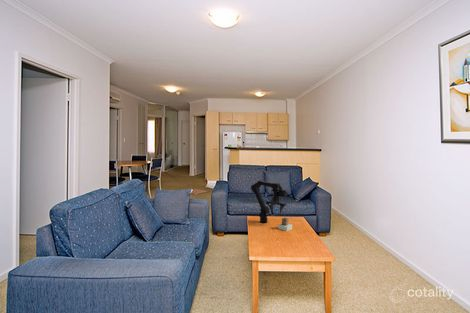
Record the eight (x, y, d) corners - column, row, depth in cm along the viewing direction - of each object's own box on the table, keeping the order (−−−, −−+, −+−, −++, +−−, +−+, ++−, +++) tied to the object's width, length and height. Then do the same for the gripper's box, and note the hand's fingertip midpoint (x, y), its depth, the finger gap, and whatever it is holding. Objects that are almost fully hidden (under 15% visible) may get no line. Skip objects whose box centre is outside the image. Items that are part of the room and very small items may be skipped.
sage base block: (278, 229, 235) (278, 224, 235) (283, 227, 242) (283, 222, 242) (286, 231, 229) (287, 226, 229) (292, 229, 236) (292, 224, 236)
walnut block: (281, 224, 235) (281, 218, 235) (283, 223, 239) (283, 217, 239) (286, 225, 233) (286, 219, 232) (288, 224, 236) (288, 218, 236)
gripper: (263, 196, 245) (263, 212, 246) (281, 198, 234) (281, 215, 235) (269, 194, 254) (268, 210, 255) (286, 196, 243) (286, 213, 244)
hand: (275, 212), depth 247 cm, fingers open, 9 cm apart
